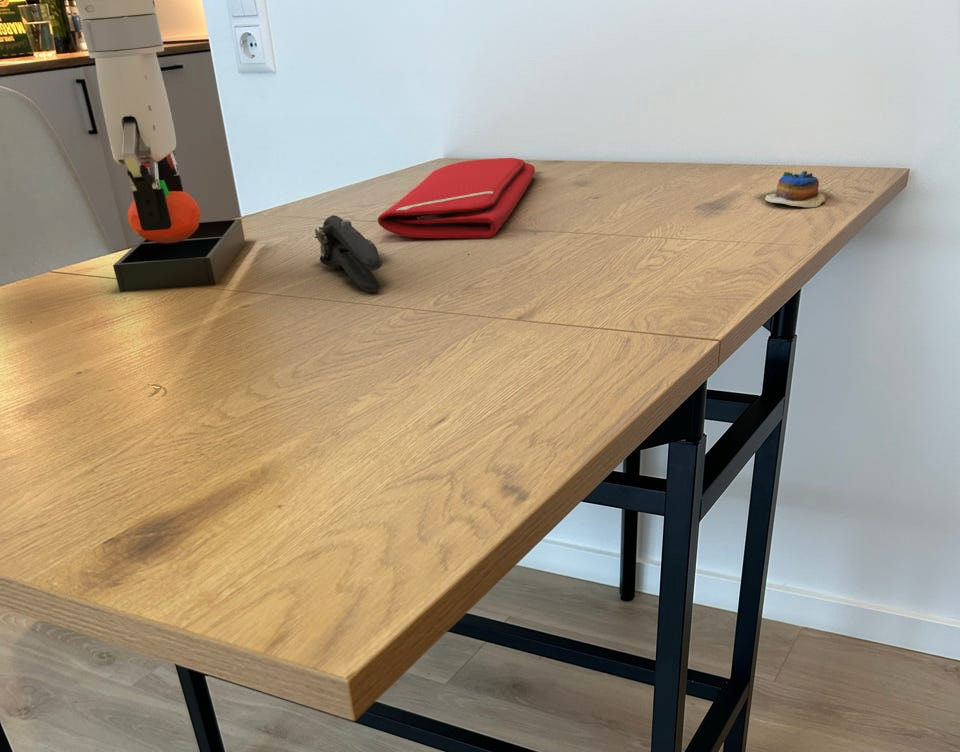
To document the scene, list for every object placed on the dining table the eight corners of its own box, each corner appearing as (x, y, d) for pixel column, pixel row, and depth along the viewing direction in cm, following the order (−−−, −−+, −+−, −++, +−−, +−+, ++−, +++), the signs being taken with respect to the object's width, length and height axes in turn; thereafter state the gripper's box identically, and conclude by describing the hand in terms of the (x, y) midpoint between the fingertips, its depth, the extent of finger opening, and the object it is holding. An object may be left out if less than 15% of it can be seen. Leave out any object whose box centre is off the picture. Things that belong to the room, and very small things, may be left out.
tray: (121, 297, 111) (112, 265, 109) (163, 253, 129) (157, 224, 127) (216, 290, 111) (209, 257, 109) (246, 247, 129) (241, 218, 127)
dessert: (821, 203, 124) (798, 160, 123) (774, 234, 128) (751, 193, 128) (835, 196, 130) (813, 154, 129) (790, 225, 134) (768, 186, 134)
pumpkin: (132, 240, 115) (117, 180, 112) (202, 231, 117) (190, 171, 113) (136, 253, 109) (120, 190, 106) (209, 243, 111) (196, 180, 108)
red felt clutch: (537, 177, 157) (536, 150, 154) (499, 238, 123) (498, 206, 121) (439, 181, 159) (437, 155, 157) (376, 242, 126) (372, 211, 124)
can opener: (313, 264, 119) (305, 213, 116) (370, 256, 120) (364, 205, 117) (341, 300, 104) (333, 243, 101) (406, 290, 106) (400, 234, 103)
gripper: (110, 36, 109) (151, 208, 119) (60, 46, 95) (111, 241, 105) (178, 30, 109) (213, 203, 119) (138, 40, 95) (182, 236, 105)
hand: (165, 220), depth 112 cm, fingers closed on pumpkin, 7 cm apart
